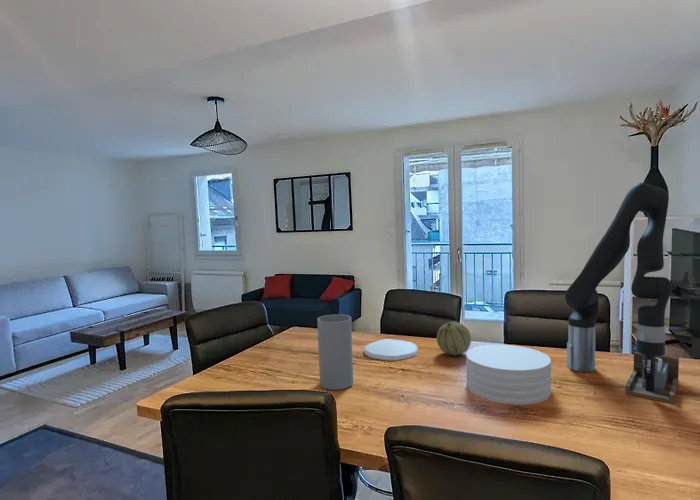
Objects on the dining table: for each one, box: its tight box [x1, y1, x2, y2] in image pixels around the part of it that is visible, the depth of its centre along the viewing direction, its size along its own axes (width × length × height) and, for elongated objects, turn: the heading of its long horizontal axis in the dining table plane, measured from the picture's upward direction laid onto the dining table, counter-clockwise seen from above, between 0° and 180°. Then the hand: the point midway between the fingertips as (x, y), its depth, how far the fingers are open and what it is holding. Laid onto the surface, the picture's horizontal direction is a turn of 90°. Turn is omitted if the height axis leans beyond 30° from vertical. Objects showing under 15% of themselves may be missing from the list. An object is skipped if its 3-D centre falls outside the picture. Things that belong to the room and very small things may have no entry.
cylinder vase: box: [316, 314, 354, 391], centre depth 158 cm, size 12×12×25 cm
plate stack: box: [465, 344, 552, 405], centre depth 151 cm, size 28×28×12 cm
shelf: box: [624, 351, 680, 405], centre depth 145 cm, size 20×13×9 cm, turn 139°
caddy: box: [642, 358, 668, 391], centre depth 147 cm, size 12×6×8 cm, turn 138°
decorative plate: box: [363, 338, 419, 361], centre depth 197 cm, size 25×4×25 cm
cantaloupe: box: [436, 321, 472, 356], centre depth 188 cm, size 15×15×15 cm
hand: (650, 391), depth 138 cm, fingers closed
